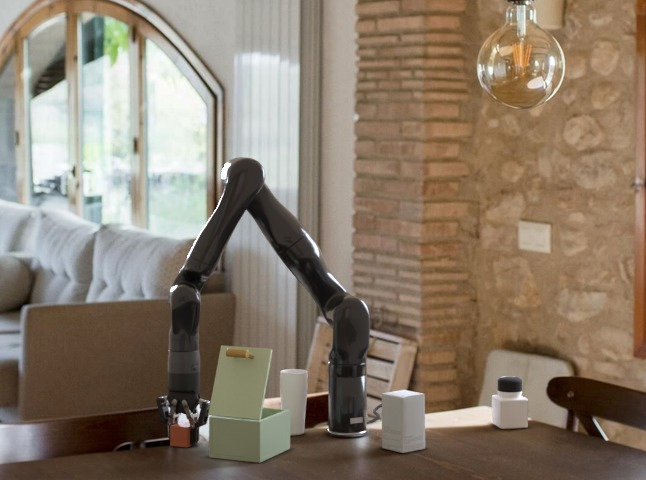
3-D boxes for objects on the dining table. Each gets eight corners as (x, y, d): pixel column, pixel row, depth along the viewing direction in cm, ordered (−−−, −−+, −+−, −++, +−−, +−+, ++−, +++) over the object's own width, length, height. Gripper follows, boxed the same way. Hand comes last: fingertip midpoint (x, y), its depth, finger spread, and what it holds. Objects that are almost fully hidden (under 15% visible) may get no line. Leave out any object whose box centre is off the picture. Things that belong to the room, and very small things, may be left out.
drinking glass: (309, 431, 313) (309, 369, 313) (305, 437, 306) (305, 373, 306) (281, 430, 313) (282, 368, 314) (277, 436, 306) (277, 373, 307)
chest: (240, 443, 299) (241, 405, 299) (290, 448, 294) (290, 409, 294) (208, 457, 285) (208, 416, 285) (259, 462, 280) (260, 421, 280)
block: (180, 441, 301) (180, 421, 301) (197, 443, 299) (197, 423, 299) (170, 445, 296) (170, 425, 296) (187, 447, 294) (187, 427, 295)
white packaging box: (426, 449, 293) (426, 393, 294) (401, 453, 289) (401, 397, 289) (405, 443, 299) (404, 388, 299) (380, 448, 294) (380, 392, 295)
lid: (222, 346, 291) (212, 340, 287) (272, 349, 286) (263, 344, 282) (209, 415, 286) (199, 410, 282) (260, 420, 281) (250, 415, 276)
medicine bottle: (528, 428, 316) (528, 379, 316) (500, 429, 315) (500, 380, 315) (518, 422, 323) (518, 374, 323) (491, 423, 322) (491, 375, 322)
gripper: (218, 368, 299) (218, 442, 298) (166, 365, 304) (166, 437, 304) (202, 373, 292) (202, 449, 291) (148, 369, 297) (148, 444, 297)
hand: (183, 443), depth 298 cm, fingers closed on block, 4 cm apart
